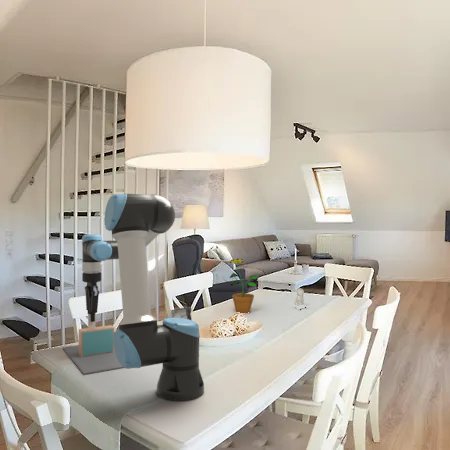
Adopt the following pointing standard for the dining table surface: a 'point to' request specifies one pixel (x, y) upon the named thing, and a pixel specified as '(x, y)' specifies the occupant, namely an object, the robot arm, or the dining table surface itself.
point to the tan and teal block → (96, 340)
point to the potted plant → (243, 299)
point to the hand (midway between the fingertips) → (91, 328)
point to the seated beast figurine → (299, 297)
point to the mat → (93, 361)
